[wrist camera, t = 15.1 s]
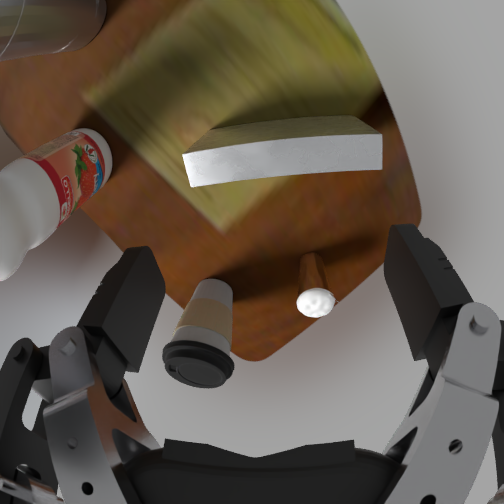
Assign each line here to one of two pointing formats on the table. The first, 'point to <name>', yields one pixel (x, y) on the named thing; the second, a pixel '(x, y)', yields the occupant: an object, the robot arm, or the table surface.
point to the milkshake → (314, 287)
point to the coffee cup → (203, 338)
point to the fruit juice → (48, 191)
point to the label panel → (283, 149)
